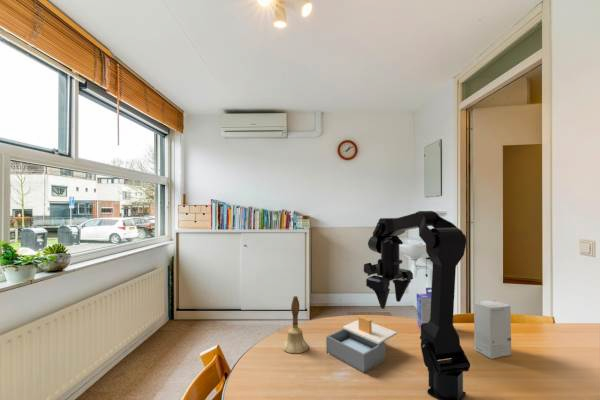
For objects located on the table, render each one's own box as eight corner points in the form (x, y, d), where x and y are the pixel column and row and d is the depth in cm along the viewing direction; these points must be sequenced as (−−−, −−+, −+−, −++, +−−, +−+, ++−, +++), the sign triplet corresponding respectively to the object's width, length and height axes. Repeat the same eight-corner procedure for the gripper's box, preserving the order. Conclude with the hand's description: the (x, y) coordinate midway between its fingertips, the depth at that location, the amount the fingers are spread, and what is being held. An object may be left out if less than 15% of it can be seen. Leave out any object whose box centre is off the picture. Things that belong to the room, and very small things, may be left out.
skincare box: (491, 359, 83) (490, 308, 83) (473, 349, 88) (472, 301, 88) (512, 355, 85) (512, 305, 85) (493, 345, 91) (492, 298, 91)
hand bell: (288, 339, 96) (287, 291, 96) (311, 343, 93) (311, 294, 93) (277, 351, 88) (277, 299, 89) (303, 356, 86) (302, 302, 86)
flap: (396, 334, 88) (396, 319, 88) (378, 344, 81) (378, 328, 81) (361, 320, 98) (360, 306, 98) (342, 328, 92) (342, 314, 92)
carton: (385, 359, 83) (385, 342, 83) (364, 373, 77) (363, 354, 77) (347, 341, 94) (347, 326, 94) (326, 352, 87) (326, 336, 87)
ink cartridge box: (443, 326, 105) (443, 286, 105) (450, 333, 99) (450, 291, 99) (416, 325, 106) (415, 286, 106) (421, 332, 100) (421, 291, 100)
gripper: (384, 250, 105) (384, 292, 105) (352, 257, 93) (352, 305, 92) (413, 254, 96) (413, 300, 96) (382, 262, 84) (382, 315, 84)
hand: (390, 304), depth 93 cm, fingers open, 9 cm apart
